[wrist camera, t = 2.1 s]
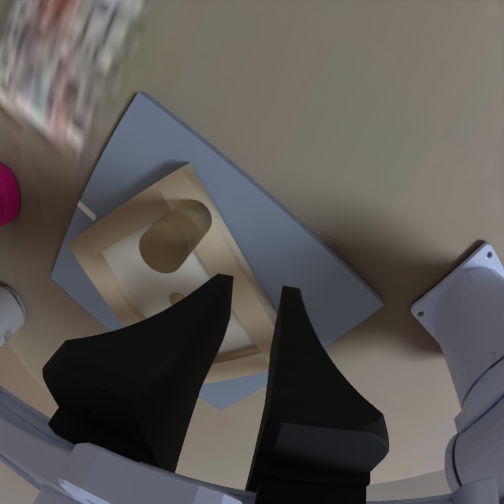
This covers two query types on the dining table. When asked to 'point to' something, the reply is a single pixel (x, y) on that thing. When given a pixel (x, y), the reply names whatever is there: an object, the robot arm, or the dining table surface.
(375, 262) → the dining table surface
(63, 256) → the board
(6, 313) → the energy drink can
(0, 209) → the pepper mill
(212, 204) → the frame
